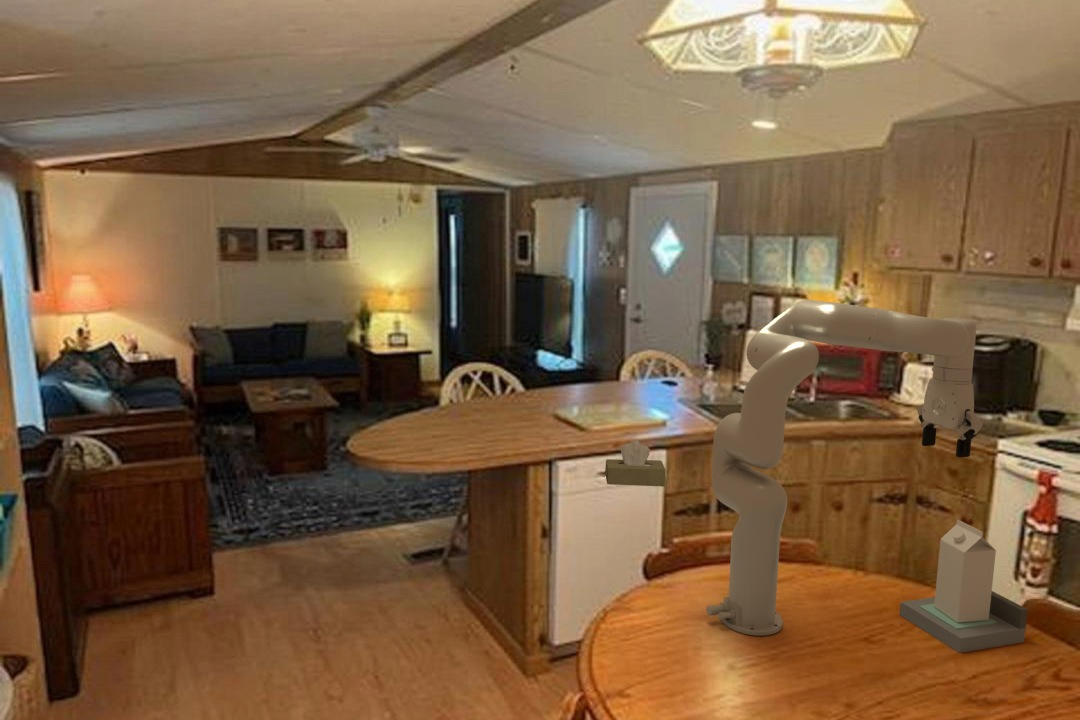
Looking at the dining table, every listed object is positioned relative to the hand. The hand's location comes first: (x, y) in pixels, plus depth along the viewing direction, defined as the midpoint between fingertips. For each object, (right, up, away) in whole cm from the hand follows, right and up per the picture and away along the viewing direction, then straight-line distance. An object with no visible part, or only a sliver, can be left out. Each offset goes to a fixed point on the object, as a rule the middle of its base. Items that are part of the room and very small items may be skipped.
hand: (945, 451), depth 170 cm
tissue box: (-59, -22, +79) cm, 101 cm away
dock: (-3, -35, -11) cm, 37 cm away
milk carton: (-3, -32, -12) cm, 35 cm away
